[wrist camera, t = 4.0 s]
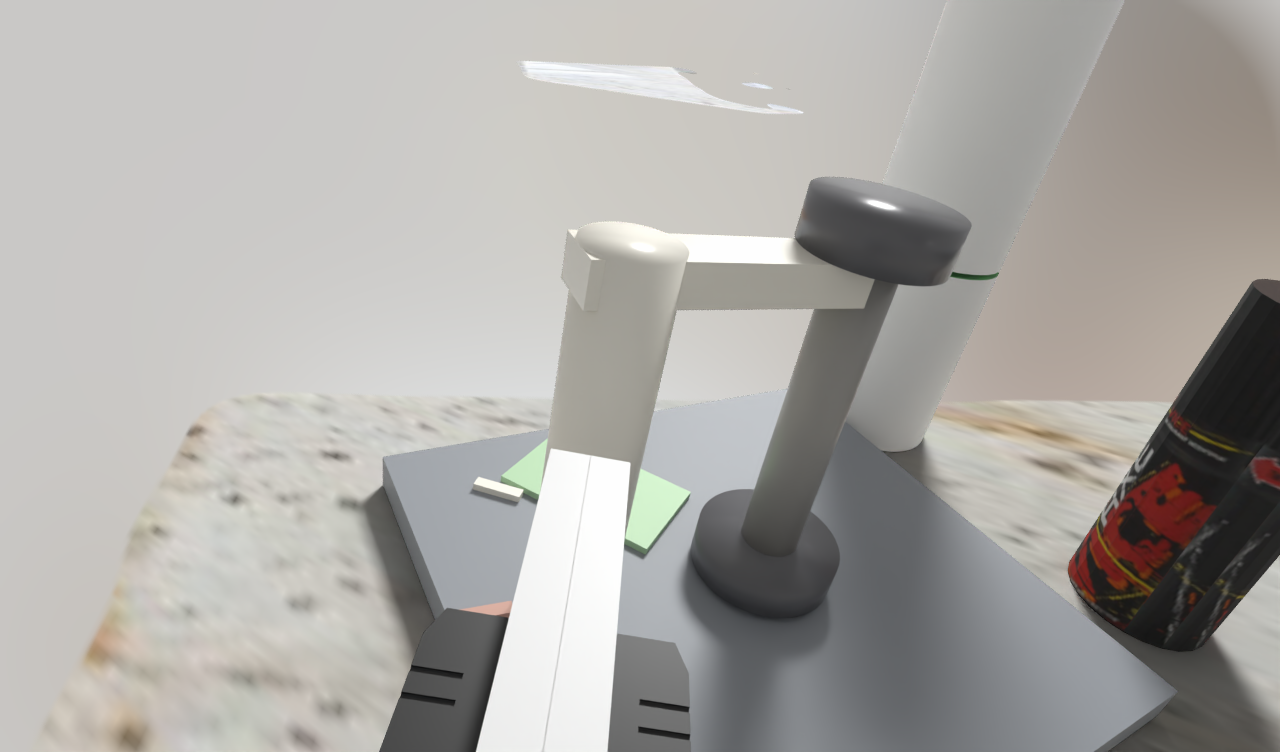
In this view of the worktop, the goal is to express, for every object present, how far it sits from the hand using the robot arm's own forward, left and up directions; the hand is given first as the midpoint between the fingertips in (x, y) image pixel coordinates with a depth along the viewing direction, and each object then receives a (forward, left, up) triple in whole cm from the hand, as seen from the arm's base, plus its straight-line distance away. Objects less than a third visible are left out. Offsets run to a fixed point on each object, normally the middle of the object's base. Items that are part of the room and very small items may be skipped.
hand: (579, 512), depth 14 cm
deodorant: (-30, +2, -12) cm, 33 cm away
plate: (-12, -5, -12) cm, 18 cm away
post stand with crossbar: (-9, -6, -10) cm, 15 cm away
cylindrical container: (-28, -14, -12) cm, 34 cm away
